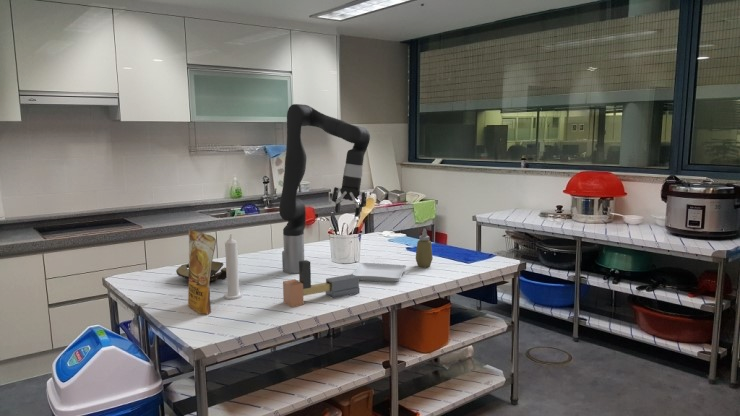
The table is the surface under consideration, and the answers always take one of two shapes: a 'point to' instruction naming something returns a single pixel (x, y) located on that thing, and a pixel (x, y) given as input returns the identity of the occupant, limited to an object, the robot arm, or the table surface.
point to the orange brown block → (293, 293)
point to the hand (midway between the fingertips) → (347, 214)
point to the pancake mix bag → (200, 270)
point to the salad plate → (379, 272)
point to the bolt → (306, 280)
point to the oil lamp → (215, 268)
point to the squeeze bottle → (424, 251)
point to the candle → (232, 269)
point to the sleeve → (343, 286)
